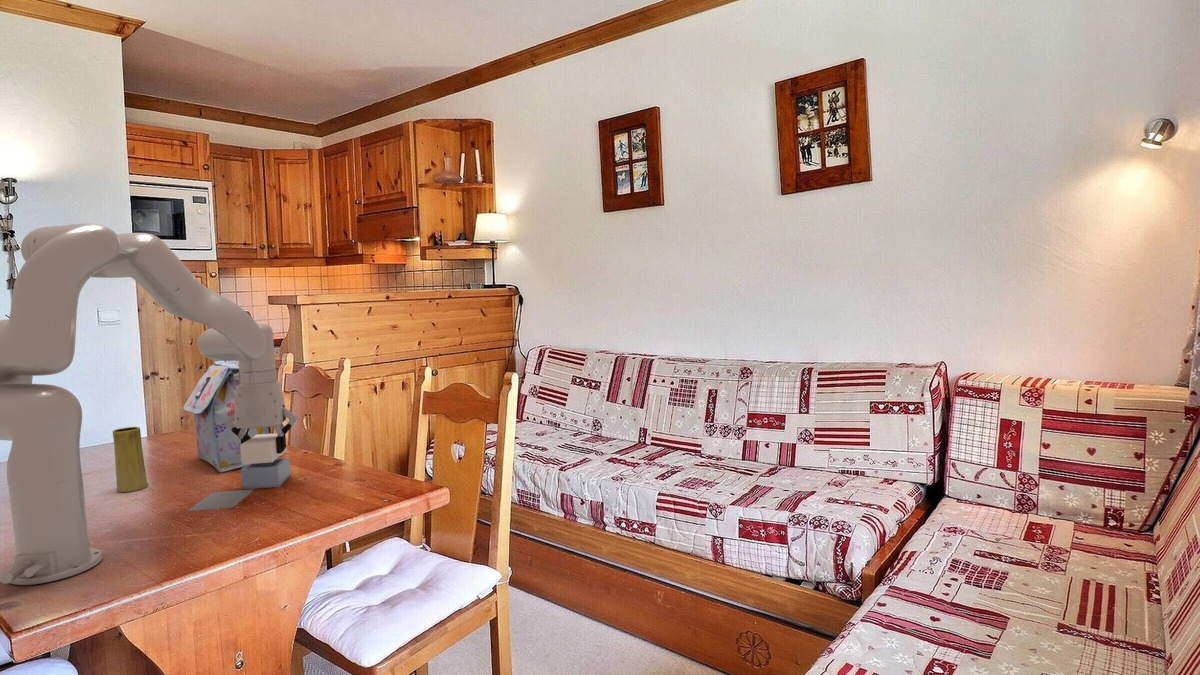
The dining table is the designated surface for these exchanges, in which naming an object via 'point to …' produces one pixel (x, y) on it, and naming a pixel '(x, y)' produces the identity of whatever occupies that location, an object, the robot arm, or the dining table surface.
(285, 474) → the open box
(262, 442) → the lid
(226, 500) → the mat
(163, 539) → the dining table surface
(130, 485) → the vase
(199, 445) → the lunch bag
